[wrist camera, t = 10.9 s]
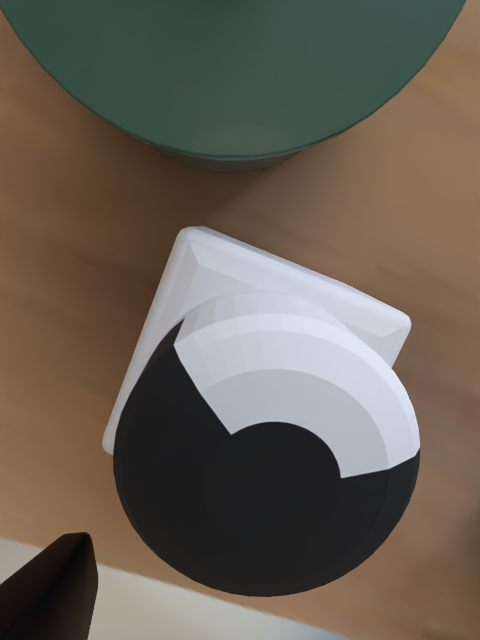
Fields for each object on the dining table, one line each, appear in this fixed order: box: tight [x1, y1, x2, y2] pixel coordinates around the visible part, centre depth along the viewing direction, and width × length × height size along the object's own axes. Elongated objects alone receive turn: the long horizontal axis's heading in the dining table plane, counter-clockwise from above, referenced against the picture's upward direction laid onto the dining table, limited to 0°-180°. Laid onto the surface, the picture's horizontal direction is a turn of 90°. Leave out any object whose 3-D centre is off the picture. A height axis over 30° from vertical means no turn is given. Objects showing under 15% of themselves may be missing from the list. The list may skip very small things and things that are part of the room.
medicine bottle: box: [102, 226, 420, 597], centre depth 14 cm, size 7×7×12 cm
